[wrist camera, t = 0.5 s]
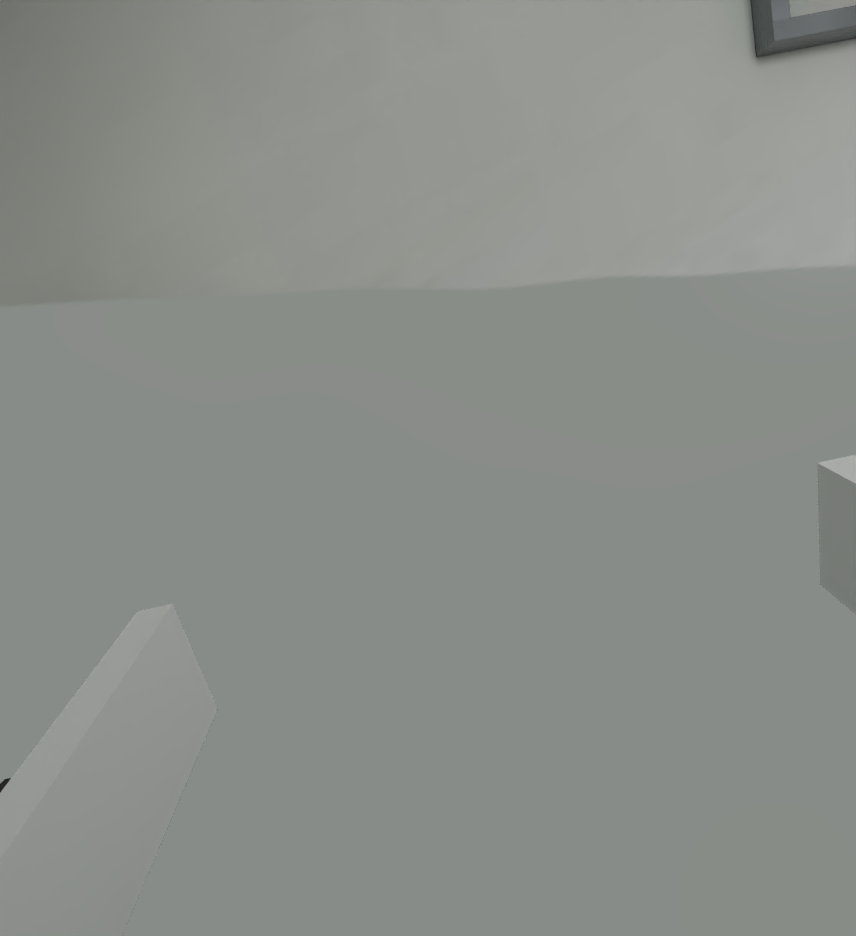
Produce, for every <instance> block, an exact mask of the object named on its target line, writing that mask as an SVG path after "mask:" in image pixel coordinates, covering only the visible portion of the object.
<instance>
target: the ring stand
mask: <svg viewBox="0 0 856 936" xmlns="http://www.w3.org/2000/svg"><path fill="white" fill-rule="evenodd" d="M751 5H752V16H753V26H754V36H755V46H756V56H757V57H759V56H764V55H769V54H774V53H779V52H784V51H790V50H795V49H800V48H805V47H810V46H816V45H821V44H826V43H831V42H836V41H842V40H847V39H852V38H856V5H855V6H850V7H844V8H839V9H834V10H829V11H824V12H818V13H813V14H808V15H803V16H798V17H792V18H791V17H790V6H789V0H751Z"/></svg>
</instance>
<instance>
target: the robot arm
mask: <svg viewBox="0 0 856 936" xmlns="http://www.w3.org/2000/svg"><path fill="white" fill-rule="evenodd" d="M818 506H819V508H818V509H819V552H820V585H821V586H823V588H825V589H826V590H827V591H828V592H830V593H831V594H832V595H833V596H834V597H836V598H837V599H838V600H839V601H840V602H842V603H843V604H844V605H845V606H846V607H848V608H849V609H850V610H851V611H852V612H854V613H855V614H856V455H853V456H848V457H843V458H838V459H834V460H829V461H824V462H820V463H818ZM217 710H218V709H217V706H216V704H215V702H214V699H213V697H212V695H211V692H210V690H209V688H208V685H207V683H206V681H205V678H204V676H203V673H202V671H201V669H200V666H199V664H198V662H197V659H196V657H195V654H194V652H193V650H192V647H191V645H190V643H189V640H188V638H187V636H186V633H185V631H184V628H183V626H182V624H181V621H180V619H179V617H178V614H177V612H176V610H175V607H174V605H173V603H172V604H168V605H164V606H159V607H154V608H149V609H145V610H140V611H137V612H136V614H135V615H134V617H133V618H132V619H131V620H130V622H129V623H128V624H127V626H126V627H125V628H124V630H123V631H122V632H121V634H120V635H119V636H118V638H117V639H116V640H115V642H114V643H113V644H112V645H111V647H110V648H109V650H108V651H107V652H106V653H105V655H104V656H103V657H102V659H101V660H100V661H99V663H98V664H97V665H96V667H95V668H94V669H93V671H92V672H91V673H90V675H89V676H88V677H87V679H86V680H85V681H84V683H83V684H82V685H81V687H80V688H79V689H78V691H77V692H76V693H75V695H74V696H73V697H72V698H71V700H70V701H69V702H68V704H67V705H66V706H65V708H64V709H63V710H62V712H61V713H60V714H59V716H58V717H57V718H56V720H55V721H54V722H53V724H52V725H51V726H50V728H49V729H48V730H47V732H46V733H45V734H44V735H43V737H42V738H41V740H40V741H39V742H38V743H37V745H36V746H35V747H34V749H33V750H32V751H31V753H30V754H29V756H28V757H27V758H26V759H25V761H24V762H23V763H22V765H21V766H20V767H19V769H18V770H17V771H16V773H15V774H14V775H13V777H12V778H9V779H5V780H4V781H3V782H2V783H1V784H0V936H123V933H124V931H125V929H126V926H127V924H128V922H129V919H130V917H131V914H132V912H133V910H134V907H135V905H136V903H137V900H138V898H139V895H140V893H141V891H142V888H143V886H144V883H145V881H146V879H147V876H148V874H149V872H150V869H151V867H152V865H153V862H154V860H155V858H156V855H157V853H158V850H159V848H160V846H161V843H162V841H163V839H164V836H165V834H166V831H167V829H168V827H169V824H170V822H171V820H172V817H173V815H174V812H175V810H176V808H177V805H178V803H179V801H180V798H181V795H182V793H183V791H184V788H185V786H186V784H187V781H188V779H189V777H190V774H191V772H192V770H193V767H194V765H195V762H196V760H197V758H198V755H199V753H200V751H201V748H202V746H203V744H204V741H205V739H206V737H207V734H208V732H209V729H210V727H211V725H212V722H213V720H214V718H215V715H216V713H217Z"/></svg>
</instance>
